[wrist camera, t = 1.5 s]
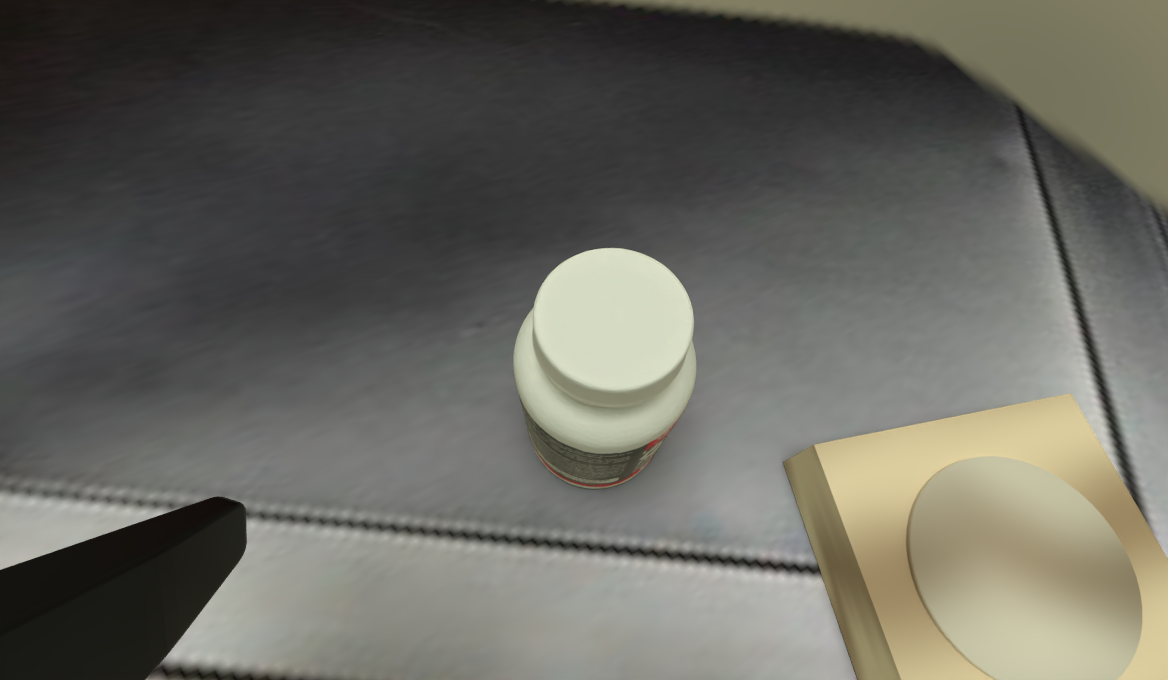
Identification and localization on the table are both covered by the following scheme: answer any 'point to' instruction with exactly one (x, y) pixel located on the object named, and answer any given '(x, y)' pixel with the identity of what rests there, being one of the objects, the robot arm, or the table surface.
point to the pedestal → (986, 550)
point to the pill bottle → (605, 365)
